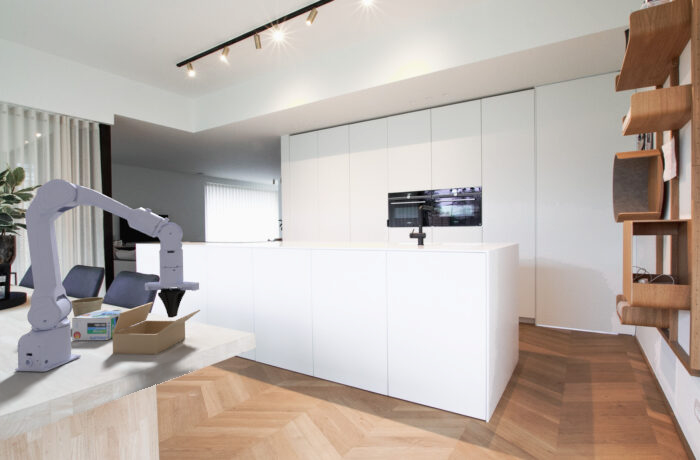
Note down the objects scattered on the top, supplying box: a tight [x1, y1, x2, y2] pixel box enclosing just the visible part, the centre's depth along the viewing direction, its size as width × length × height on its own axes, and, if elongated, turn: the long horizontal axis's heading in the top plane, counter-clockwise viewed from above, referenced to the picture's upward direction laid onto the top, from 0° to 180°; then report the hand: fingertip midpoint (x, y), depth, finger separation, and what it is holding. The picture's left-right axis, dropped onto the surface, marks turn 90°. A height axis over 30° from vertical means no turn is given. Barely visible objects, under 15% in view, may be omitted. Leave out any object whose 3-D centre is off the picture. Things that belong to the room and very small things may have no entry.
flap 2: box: [157, 309, 201, 335], centre depth 97 cm, size 12×6×1 cm
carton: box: [112, 319, 186, 355], centre depth 98 cm, size 13×12×5 cm
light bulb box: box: [71, 309, 129, 341], centre depth 108 cm, size 11×7×11 cm
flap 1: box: [113, 301, 154, 333], centre depth 98 cm, size 12×6×1 cm
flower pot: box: [70, 296, 105, 318], centre depth 119 cm, size 9×9×9 cm
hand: (172, 316), depth 97 cm, fingers closed
